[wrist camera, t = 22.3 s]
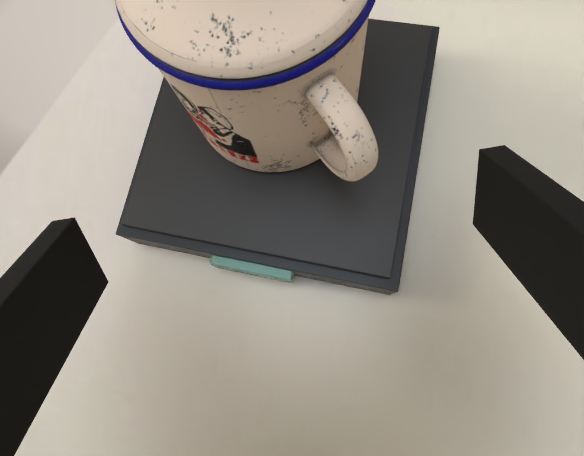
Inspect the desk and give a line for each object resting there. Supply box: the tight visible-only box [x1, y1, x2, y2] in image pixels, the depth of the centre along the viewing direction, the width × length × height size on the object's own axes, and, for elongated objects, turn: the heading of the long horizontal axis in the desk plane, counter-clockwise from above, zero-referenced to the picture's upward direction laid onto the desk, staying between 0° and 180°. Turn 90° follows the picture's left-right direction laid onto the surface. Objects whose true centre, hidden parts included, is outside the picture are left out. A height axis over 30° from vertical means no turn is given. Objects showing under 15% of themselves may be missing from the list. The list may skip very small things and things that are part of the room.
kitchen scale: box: [116, 19, 439, 295], centre depth 23 cm, size 15×16×3 cm
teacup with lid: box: [115, 0, 378, 181], centre depth 16 cm, size 12×9×12 cm
